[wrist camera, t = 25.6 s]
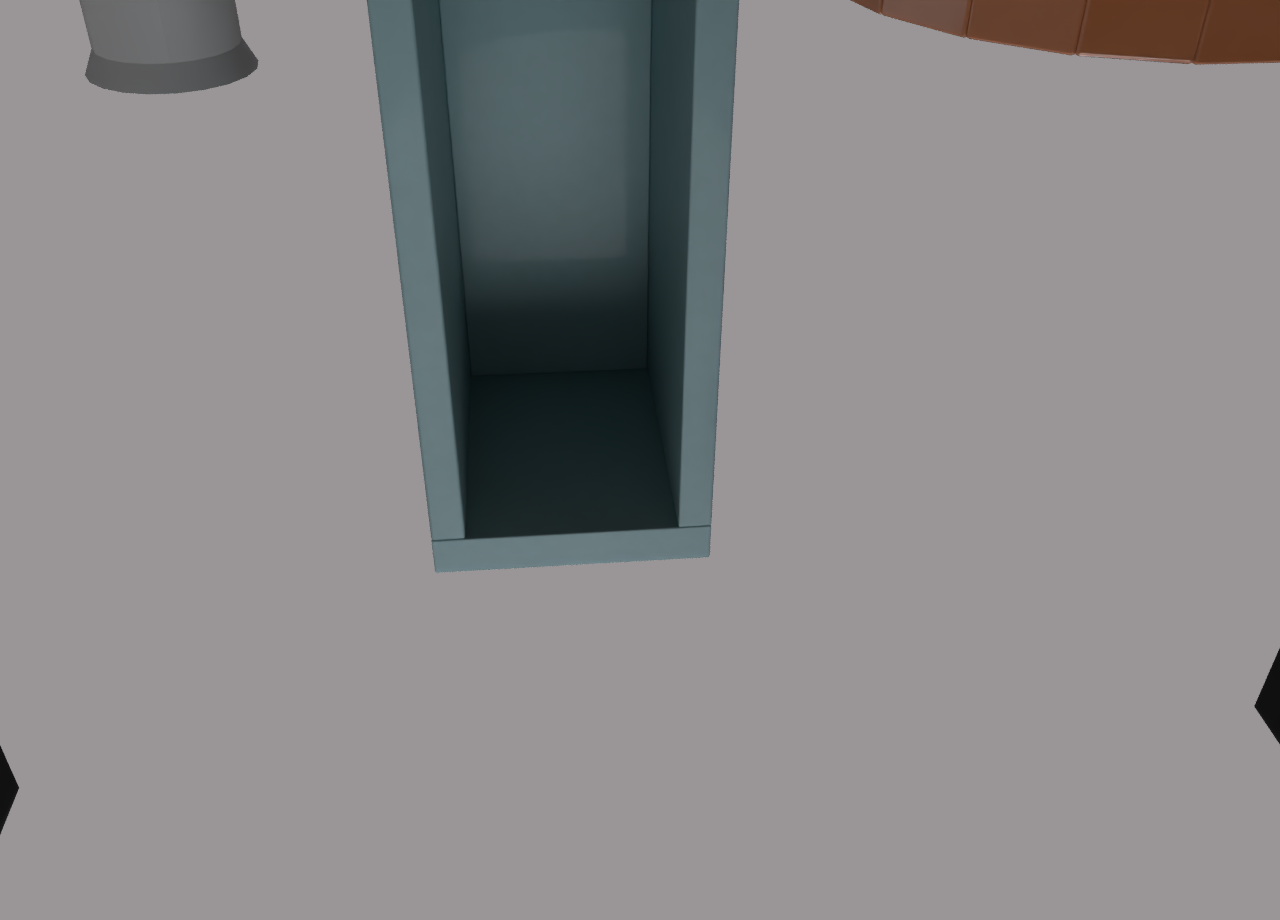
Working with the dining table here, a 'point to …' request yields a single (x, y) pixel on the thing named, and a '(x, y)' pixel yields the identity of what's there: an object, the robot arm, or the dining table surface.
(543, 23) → the teal bin
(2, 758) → the robot arm
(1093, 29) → the pot
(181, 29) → the chalice
